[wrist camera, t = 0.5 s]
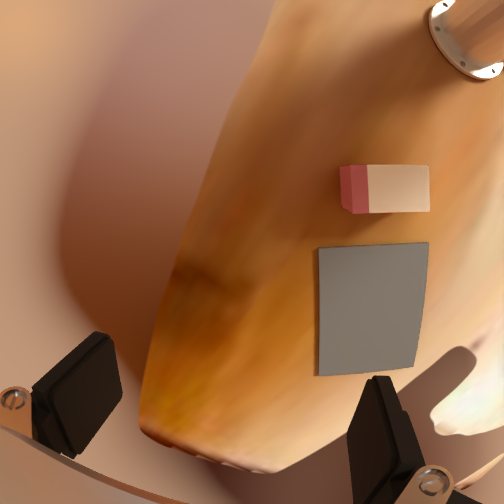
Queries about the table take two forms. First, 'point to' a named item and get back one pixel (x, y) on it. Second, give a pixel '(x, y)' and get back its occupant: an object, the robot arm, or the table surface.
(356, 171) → the card box
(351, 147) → the table surface
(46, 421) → the robot arm
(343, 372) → the mat
